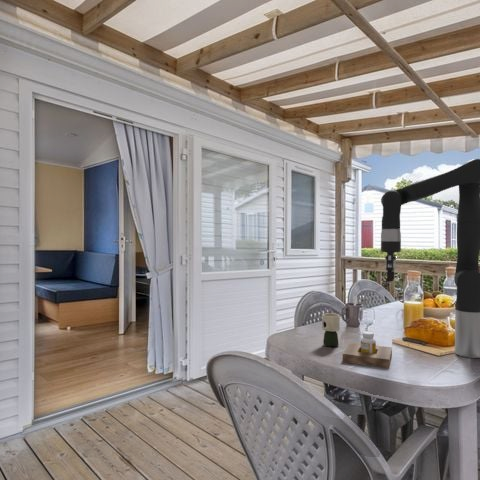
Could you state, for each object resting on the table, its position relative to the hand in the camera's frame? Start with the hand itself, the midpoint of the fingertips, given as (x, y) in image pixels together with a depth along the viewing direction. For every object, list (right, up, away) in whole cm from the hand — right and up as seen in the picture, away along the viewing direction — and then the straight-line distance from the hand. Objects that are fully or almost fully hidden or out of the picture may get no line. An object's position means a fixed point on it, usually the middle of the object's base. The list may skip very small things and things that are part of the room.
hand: (390, 280), depth 155 cm
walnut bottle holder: (-13, -28, -11) cm, 33 cm away
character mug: (-23, -28, +5) cm, 37 cm away
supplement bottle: (-13, -28, -11) cm, 33 cm away
